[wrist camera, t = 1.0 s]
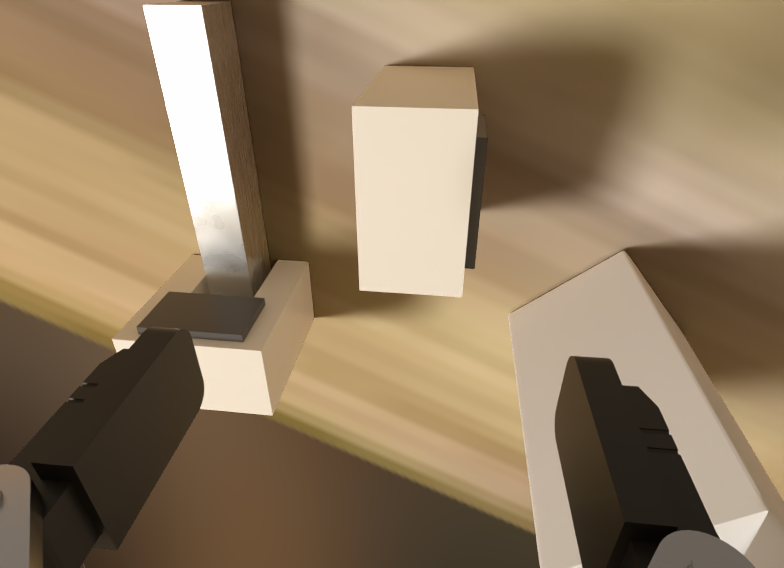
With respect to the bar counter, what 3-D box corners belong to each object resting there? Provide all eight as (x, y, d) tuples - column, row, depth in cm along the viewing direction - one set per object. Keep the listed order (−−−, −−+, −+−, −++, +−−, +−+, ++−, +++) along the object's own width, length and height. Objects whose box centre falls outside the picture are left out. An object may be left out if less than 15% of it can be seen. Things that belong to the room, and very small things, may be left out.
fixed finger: (307, 255, 28) (259, 343, 22) (314, 318, 31) (272, 415, 24) (190, 248, 29) (109, 332, 22) (205, 310, 32) (135, 402, 25)
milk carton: (570, 387, 31) (682, 822, 15) (506, 312, 29) (558, 734, 13) (684, 335, 28) (969, 809, 12) (622, 246, 26) (877, 691, 10)
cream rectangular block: (384, 65, 23) (351, 106, 16) (482, 67, 22) (491, 109, 16) (385, 208, 26) (359, 290, 20) (469, 212, 26) (472, 297, 19)
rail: (231, 1, 22) (200, 5, 19) (277, 315, 31) (261, 346, 29) (179, 0, 22) (142, 5, 20) (240, 312, 31) (221, 343, 29)
